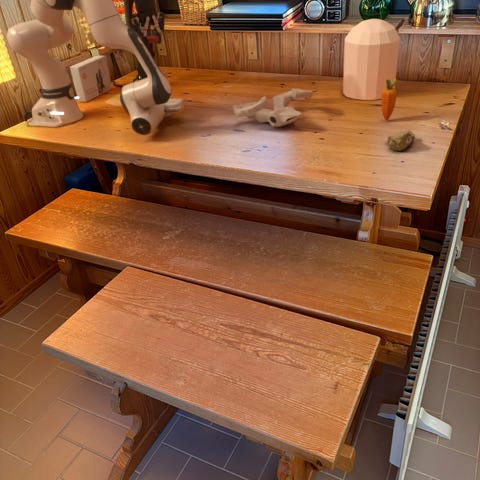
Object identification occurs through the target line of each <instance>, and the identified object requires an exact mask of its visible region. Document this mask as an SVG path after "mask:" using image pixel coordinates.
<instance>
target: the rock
mask: <svg viewBox="0 0 480 480" xmlns="http://www.w3.org/2000/svg"><path fill="white" fill-rule="evenodd" d="M415 139H416V135H415V134H414V132H412V131H411V130H408V129H407V130H404V131H398V132H396V133H394V134H393V135H392V134H391V135H389V136H388V137H387V143H388V145H387V146H388V147H389V149H391V150H392V151H395V152H404V151H406V150H407V148H409V145H410V144H411V143H412V142H413V141H414V140H415Z"/></svg>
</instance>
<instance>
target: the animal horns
mask: <svg viewBox="0 0 480 480" xmlns="http://www.w3.org/2000/svg"><path fill="white" fill-rule="evenodd" d="M313 93H314V92H313V91H312V90H307V89H302V88H292V89H291V90H289V91H286V92H283V93H281V94H277V95H275V96H272V102H271V103H272V107H273V109H272V110H271V109H266V108H265V107H267V106H268V98H267V96H266V95H264V96H262V97H261V98H260V99H259V100H258V101H257V102H256V101H251V102H246V103H240V104H234V105H232V106H231V107H232V108H231V109H232V112H233V113H234V115H235V116H237V118H244V117H246V118H248V119H252V120H257V122H259V123H269V124H270V126H272V127H274V128H280V127H284V126H287V125H290V124H294V123H296V121H298V120H301V119H302V112H301V111H300V110H297V109H295V108H294V107H291V106H288V105H289V103H290V102H292V101H299V100H308V101H310V100H311V99H312V97H313Z"/></svg>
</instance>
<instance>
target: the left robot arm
mask: <svg viewBox="0 0 480 480" xmlns="http://www.w3.org/2000/svg"><path fill="white" fill-rule="evenodd" d="M29 8H30V11H31V13H32V15H33V17H34V18H35V19H31V20H27V21H22V22H19V23H16V24H14V25H13V26H11V27H8V30H7V32H6V40H7V43H8V46H9V47H10V48H11V50H12V51H13V52H15V54H18V55H19V56H22V57H23V58H25V60H27V61H28V62H29V63H30V64H31V65H32V67H33V68H34V70H35V72H36V74H37V77H38V80H39V82H40V85H41V87H40V88H39V90H37V91H36V92H37V95H39V94H40V97H39V99H38V100H37V101H36V103H35V104H34V105H33V106H32V107H30V108H29V109H28V110H27V111H26V112H25V114H24V116H23V117H24V118H23V119H24V121H25V122H28V126H30V127H31V126H32V127H49V128H58V127H62V126H64V125H68V124H71V123H75V122H77V121H80V120H81V119H82V118H83V117H84V113H83V112H82V111H81V108H80V106H79V105H78V101H77V100H78V98H79V97H77V96H76V95H75V92H74V89H73V84H72V83H71V81H70V78H69V75H68V72H67V68H66V65H65V64H64V63H63V61H61V60H59V59H57V58H54V57H51V55H50V53H49V50H51V49H55V48H59V47H62V46H64V45H66V44H68V43H69V42H71V40H72V39H73V28H72V26H71V24H70V22H69V21H68V20H67V19H66V17H64V13H65V11H72V10H73V8H75V9H76V8H77V9H78V10H80V12H81V13H82V15H83V16H84V19H85V22H86V24H87V26H88V29H89V31H90V33H91V36H92V37H93V39H94V41H96V43H97V44H98V45H100V46H102V47H104V48H107V49H111V50H124V51H128V52H131V53H132V54H133V55H134V56H135V58H136V57H137V59H138V60H139V62H140V64H141V65H142V67H143V69H144V70H145V72H146V74H147V76H148V77H147V78H145V79H142V80H139V81H137V80H135V82H133V81H132V82H129V83H127V84H123V85H124V86H123V87H121V90H120V94H119V102H120V104H121V106H122V109H123V110H124V112H125V113H126V114H127V115H128V116H129V117H130V126H131V129H132V130H133V131H134V132H135V133H136V134H138V135H141V136H148V135H150V134H152V133H153V132H154V131H155V130H156V129H157V128H158V127H159V125H160V123H162V121H163V119H164V118H165V117H164V116H165V114H166V113H171V114H177V113H180V112H182V111H183V110H184V108H185V101H184V99H183V98H181V97H179V98H175V97H174V98H173V97H171V96H172V93H173V90H172V86H171V83H170V82H169V80H168V78H167V77H166V76H165V73H164V72H163V71H162V72H163V73H164V74H163V73H162V72H161V70H162V69H161V68H160V67H159V65H158V63H157V64H156V62H155V60H154V58H153V57H152V55H151V53H150V52H149V50H148V48H147V47H146V45H145V43H144V42H143V40H142V39H141V36H139V34H138V33H137V32H136V31H135V30H134V29H131V28H129V27H128V26H127V25H126V22H124V20H123V19H122V17H121V15H120V13H119V10H118V9H117V6H116V4H115V3H114V1H113V0H30V4H29ZM76 99H77V100H76ZM28 118H31V119H30V120H29V121H28Z"/></svg>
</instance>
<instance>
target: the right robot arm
mask: <svg viewBox="0 0 480 480" xmlns="http://www.w3.org/2000/svg"><path fill="white" fill-rule="evenodd" d="M122 3H123V10H124V21H125V24H126V25H127V26H128V27H129V28H131V29H134V30H135V31H136V32H137V33H138V34H139V36H140V37H141V39H142V40H143V42H144V43H145V45H146V47H147V48H148V50H149V52H150V53H151V55H152V57H153V58H154V60H155V62H156V64H157V65H158V62H157V61H158V60H157V55H156V50H155V45H154V44H155V43H156V44H158V45H161V44H162V42H163V40H162V33H161V32H162V31H164V30H165V13H164V12H159V11H157V2H156V0H122ZM134 7H135V11H136V12H133V11H134ZM152 30H153V31H154V35H156V36H158V37H159V41H158V42H155V43H148V39H147V36H153V32H152ZM135 59H136V64H137V67H136V71H137V72H136V73H137V74H136V75H135V78H134V79H133V80H132V82H136V81H139V80H142V79H145V78H147V77H148V76H147V74H146V72H145V70H144V69H143V67H142V65H141V64H140V62H139V60H138V59H137V57H136V56H135ZM110 81H111V83H112V84H113V86H114V87H118V88H119V87H120V88H122V87H123V86H124V85H125V84H118V83H116V81H115V80H112V79H110Z"/></svg>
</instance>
